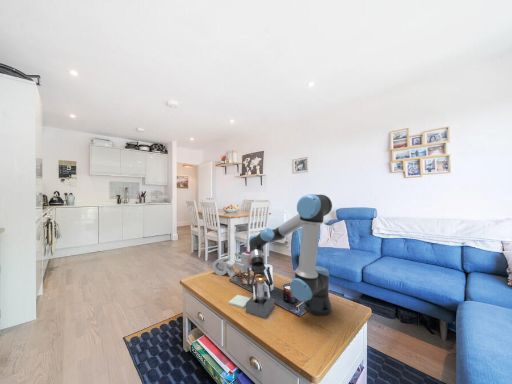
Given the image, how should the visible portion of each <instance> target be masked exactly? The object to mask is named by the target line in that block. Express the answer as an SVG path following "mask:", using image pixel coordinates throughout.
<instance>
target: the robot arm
mask: <svg viewBox="0 0 512 384" xmlns="http://www.w3.org/2000/svg"><path fill="white" fill-rule="evenodd" d="M332 209H333V203H332V200H331V199H330V197H328V196H327V195H325V194H314V193H313V194H311V193H310V194H305V195H303V196H301V197H300V198H299V200H298V201H297V204H296V211H297V213H298V214H296V215H294V216H293V217H291V218H290V219H288V220H287V221H285V222H283V223H282V224H280V225H279V226H278V227H276V228H274V229H272V228H269V227H266V228H264V229H263V230H261V232H259V233H258V234H253V235H250V236H249V238H248V241H249V242H248V244H249V252H250V254H251V265H252V267H251V268H247V272H246V274H248V275H247V276H246V278H247V280H246V281H247V282H246V287H249V289H250V293H251V294H252V297H253V300H255V298H256V297H255V294H256V290H255V289H256V287H255V285H254V281H255V277H256V276H258V275H263V276H266V277H267V280H266V281H265V282H264V283H265V284H266V285H265V288H266V297H268V299H269V298H271V295H270V293H271V290H272V289H271V286H272V285H273V283H274V282H273V278H272V274H271V272H270V270H271V269H270V266H265V262H264V255H263V247H264V246H266V245H267V244H268V243H272V242H278V241H281V240H284V239H285V238H286V237H287V236H288V235H290V234H292V233H294V232H295V231H297V230H298V229H301V236H300V237H301V238H300V248H299V260H298V267H297V268H296V269H295V271H294V277H293V278H292V279H291V281H290V282H289V289H290V292H291V293H292V295H293V297H294V298H295V299H296V300H298V301H300V302H303V308H304V307H305V308H306V309H307V310H306V309H305V308H304V309H305V310H306V312H308V313H310V314H312V315H315V316H328V315H330V314H331V313H332V302H331V300H330V297H329V293H330V291H329V289H330V271H329V269H328V268H326V267H323V266H320V265H317V257H318V247H319V237H320V236H319V235H320V227H321V225H322V224H323V223H324V220H325V219H324V217H325V216H327V215H329V214H330V213H331V211H332ZM251 270H252V271H251ZM251 272H253V274H252V276H253V277H252V278H250V275H251ZM265 272H266V273H265Z"/></svg>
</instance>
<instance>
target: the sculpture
mask: <svg viewBox="0 0 512 384" xmlns="http://www.w3.org/2000/svg"><path fill="white" fill-rule="evenodd" d="M230 257H231V256H230V255H226V256H222V257H220V258H217V260H214V261H213V263H212V270H213V272H214V273H215V274H216V275H217V276H221V277H222V276H225V275H226V274H228V276H229V277H230V278H233V277H234V276H235V275H237V272H236V270H235V261H232V260H231V259H229V258H230Z"/></svg>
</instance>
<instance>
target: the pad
mask: <svg viewBox="0 0 512 384" xmlns="http://www.w3.org/2000/svg"><path fill="white" fill-rule="evenodd" d="M251 298H252V297H248V296H244V295H241V294H240V295H239V294H236V295H235V296H234V297H233V298H231V299H230V300H229V301H228V302H227V303H228V305H230V306H234V307H238V308H241V309H244V308H246V303H247V302H248V301H249V300H250V299H251Z"/></svg>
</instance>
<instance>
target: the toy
mask: <svg viewBox="0 0 512 384" xmlns="http://www.w3.org/2000/svg"><path fill="white" fill-rule="evenodd" d="M234 262H235V265H234V270H235V269H236V270H238V271H239V272H238V273H239V275H238V276H241V274H242V272H244V274H245V273H246V274H247V268H251V267H252V265H251V254H250V250H249V251H248V250H245V251H244V252H242V253H240V258H237V259H234ZM251 272H253V271H252V270H251Z"/></svg>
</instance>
